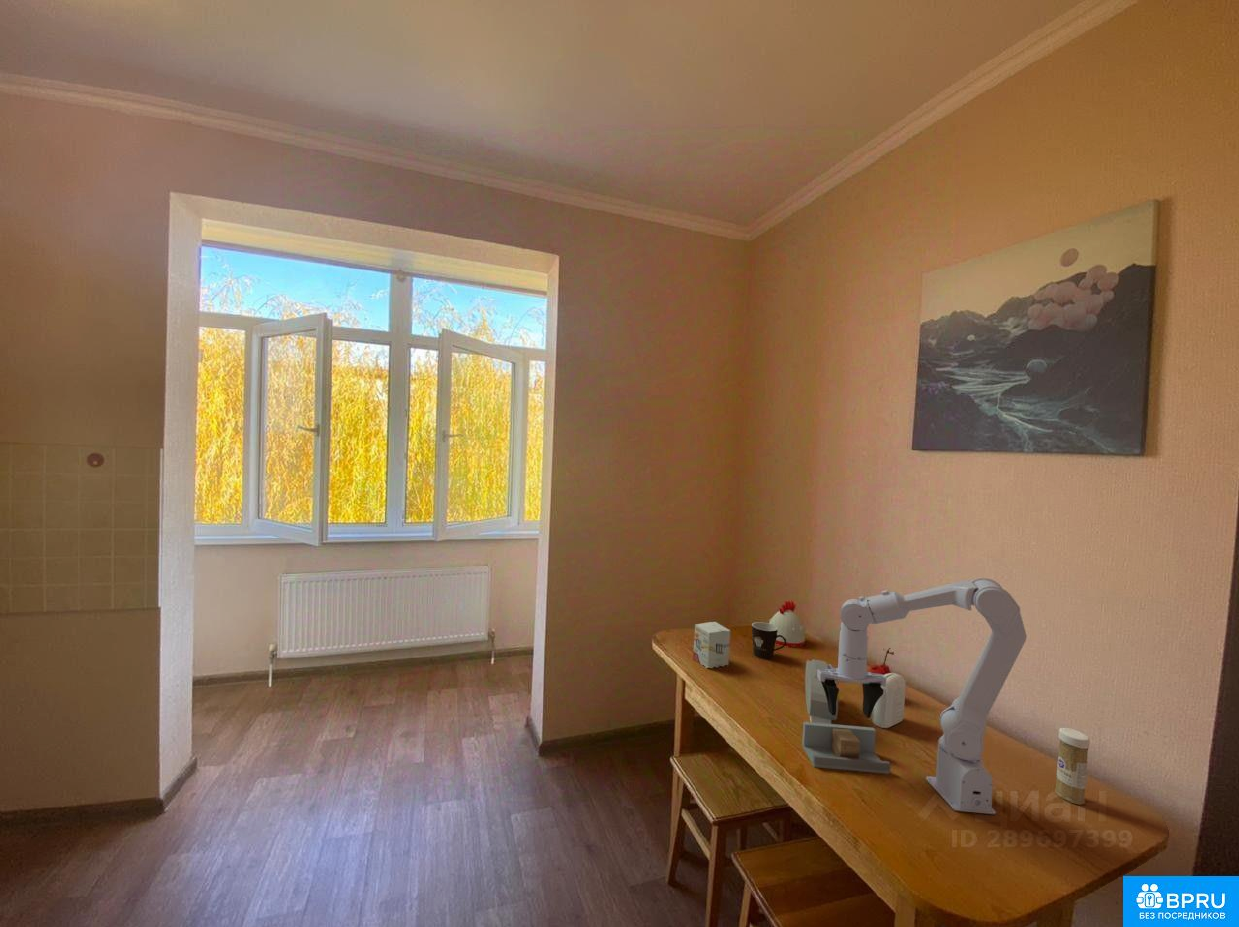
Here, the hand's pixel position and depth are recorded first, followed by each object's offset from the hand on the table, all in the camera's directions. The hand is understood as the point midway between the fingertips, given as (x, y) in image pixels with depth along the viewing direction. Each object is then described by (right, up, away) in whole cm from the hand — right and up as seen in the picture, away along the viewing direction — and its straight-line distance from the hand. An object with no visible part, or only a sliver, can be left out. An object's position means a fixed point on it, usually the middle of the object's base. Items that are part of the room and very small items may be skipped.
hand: (849, 714), depth 106 cm
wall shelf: (-1, -10, 0) cm, 10 cm away
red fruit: (+24, -12, +32) cm, 42 cm away
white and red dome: (+11, -11, +73) cm, 74 cm away
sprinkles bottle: (+41, -13, -9) cm, 44 cm away
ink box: (-22, -9, +48) cm, 54 cm away
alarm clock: (+2, -10, +20) cm, 22 cm away
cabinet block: (-1, -9, -1) cm, 9 cm away
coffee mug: (-2, -10, +55) cm, 56 cm away
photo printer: (+18, -11, +17) cm, 27 cm away
